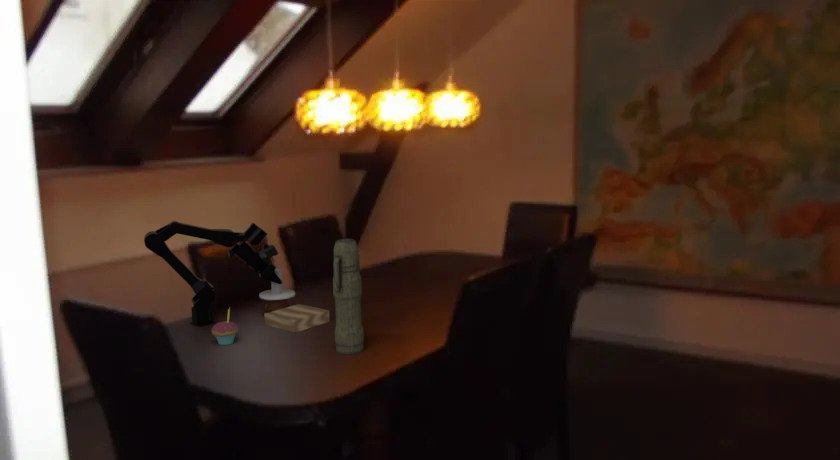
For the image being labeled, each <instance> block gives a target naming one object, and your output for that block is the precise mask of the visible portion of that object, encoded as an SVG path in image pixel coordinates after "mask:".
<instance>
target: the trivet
mask: <svg viewBox="0 0 840 460" xmlns="http://www.w3.org/2000/svg"><path fill="white" fill-rule="evenodd" d="M289 306H290V307H286V308H283V309H279V310H276V311H272V312H269V313H265V314H263V315H264V326H269V327H273V328H276V329H279V330H283V331H287V332H291V333H292V332H293V333H298V332H301V331H304V330H308V329H310V328H314V327H317V326H320V325H323V324H326V323H329V322H330V310H328V309H325V308H324V309H323V308H318V307H314V306H310V305H305V304H300V303H297V304H294V305H289Z"/></svg>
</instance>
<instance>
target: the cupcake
mask: <svg viewBox="0 0 840 460" xmlns="http://www.w3.org/2000/svg"><path fill="white" fill-rule="evenodd" d="M230 313H231V307H229V308H228V309H227V317H226V318H227V320H225V321H219V322H216V323H215V324H214V325H213V326H212V327H211V335H213V336H214V337H215V338H216V341H217V342H218V343H217V344H218V345H220V346H228V345H232V344H233V343H234V341H235V337H236V334H237V333H238V332H239V328H240V327H239V325H238V324H237V323H235V322H233V321H230V315H231V314H230Z"/></svg>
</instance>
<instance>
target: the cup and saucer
mask: <svg viewBox="0 0 840 460" xmlns="http://www.w3.org/2000/svg"><path fill="white" fill-rule="evenodd" d="M266 301H267V303H266V304H265V305H264V307H262V308H261V313H262V314H263V315H264V314H265V313H269V312H272V311H276V310H279V309H283V308H286V307H290V306H291V305H289V303H288V302H289V299H284V300H266Z"/></svg>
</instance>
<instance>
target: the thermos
mask: <svg viewBox="0 0 840 460" xmlns="http://www.w3.org/2000/svg"><path fill="white" fill-rule="evenodd" d="M334 243H335V244H334V246H333V262H332V265H333V277H332V290H333V291H332V294H333V298H334V303H335V305H334V306H335V307H334V308H335V328H334V343H335V351H336V353H338V354H340V355H341V354H342V355H353V354H359V353H361V352H363V351H364V349H365V348H364V342H365V339H364V338H365V335H364V327H363V324H362V301H361V299H362V295H363V288H362V287H363V285H362V281H363V280H362V276H361V269H360V268H361V265H360V262H361V261H360V254H359V247H358V244H357V242H356V240H355V239H353V238H339V239H338V240H336V241H335V242H334Z"/></svg>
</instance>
